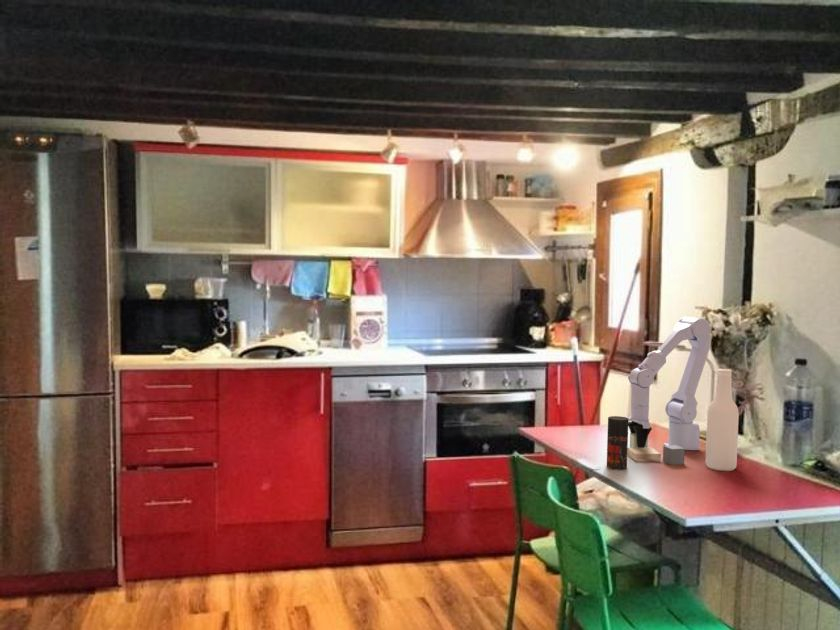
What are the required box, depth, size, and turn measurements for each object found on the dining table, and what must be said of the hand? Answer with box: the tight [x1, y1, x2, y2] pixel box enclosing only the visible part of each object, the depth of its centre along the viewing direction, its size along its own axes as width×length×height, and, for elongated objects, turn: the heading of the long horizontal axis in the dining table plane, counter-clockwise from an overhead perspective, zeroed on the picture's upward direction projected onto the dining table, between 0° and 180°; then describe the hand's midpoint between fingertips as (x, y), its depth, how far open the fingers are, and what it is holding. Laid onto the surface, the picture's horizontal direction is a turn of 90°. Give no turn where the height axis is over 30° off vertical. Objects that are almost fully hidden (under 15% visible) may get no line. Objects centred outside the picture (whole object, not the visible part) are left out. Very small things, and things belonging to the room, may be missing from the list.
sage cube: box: [629, 432, 649, 448], centre depth 252 cm, size 4×4×5 cm
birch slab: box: [627, 447, 662, 462], centre depth 241 cm, size 8×8×2 cm
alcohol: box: [704, 368, 740, 472], centre depth 230 cm, size 9×9×30 cm
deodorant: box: [606, 415, 629, 471], centre depth 229 cm, size 6×6×15 cm
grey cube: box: [662, 445, 686, 466], centre depth 236 cm, size 4×4×5 cm
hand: (638, 445), depth 252 cm, fingers closed on sage cube, 4 cm apart
